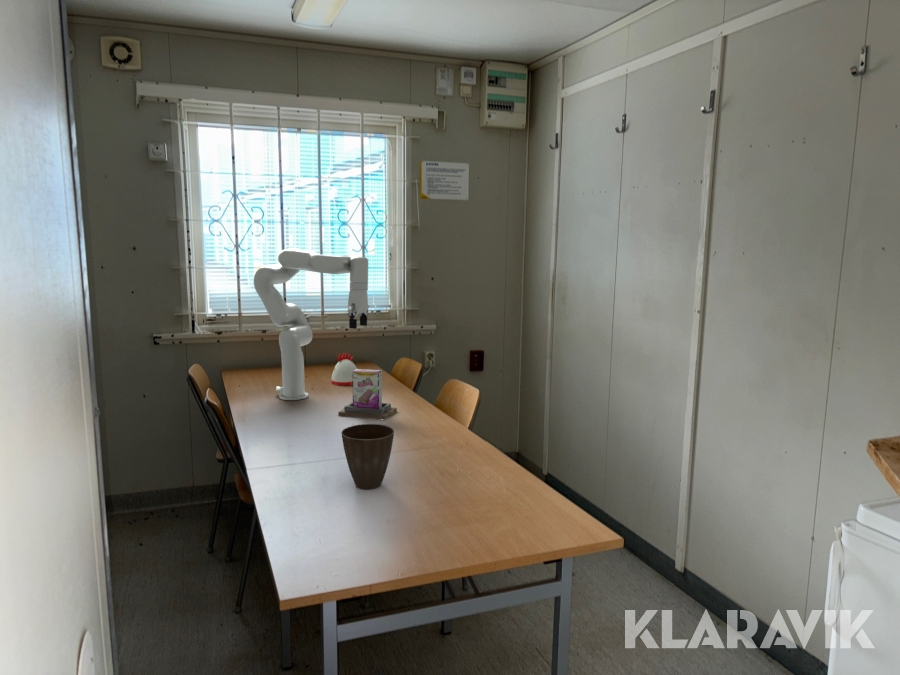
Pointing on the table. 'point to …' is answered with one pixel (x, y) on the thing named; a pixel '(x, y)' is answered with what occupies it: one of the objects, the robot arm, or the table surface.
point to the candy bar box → (367, 388)
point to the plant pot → (367, 453)
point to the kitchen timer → (343, 371)
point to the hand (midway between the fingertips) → (358, 326)
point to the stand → (368, 411)
